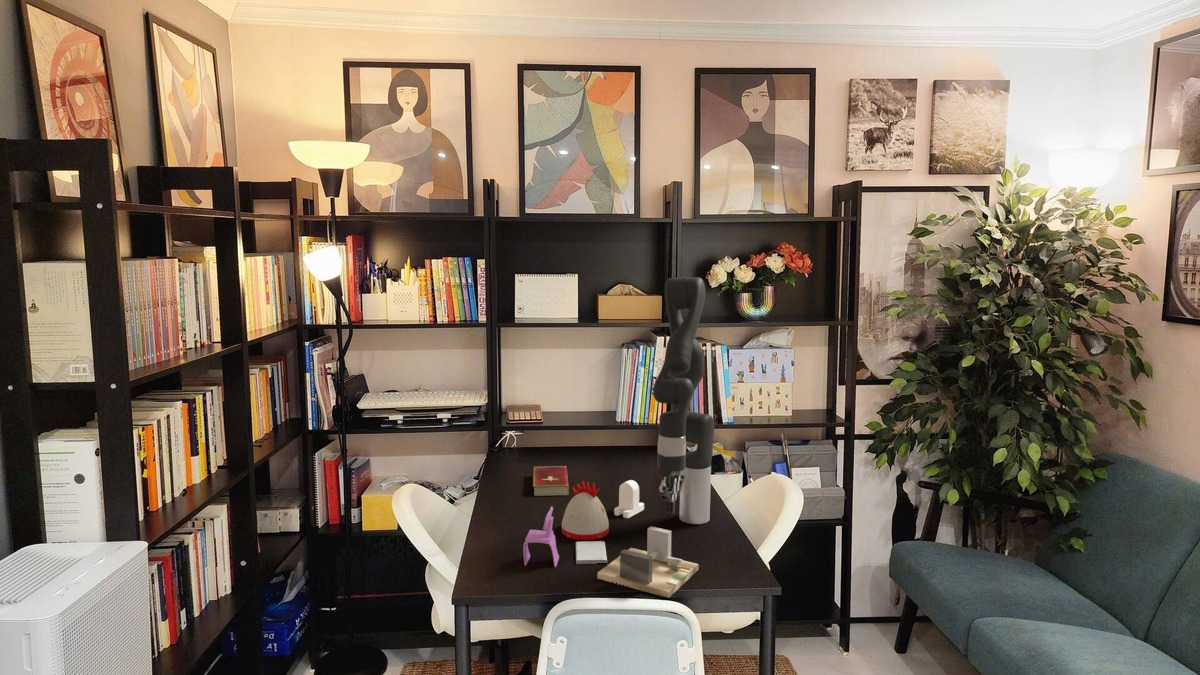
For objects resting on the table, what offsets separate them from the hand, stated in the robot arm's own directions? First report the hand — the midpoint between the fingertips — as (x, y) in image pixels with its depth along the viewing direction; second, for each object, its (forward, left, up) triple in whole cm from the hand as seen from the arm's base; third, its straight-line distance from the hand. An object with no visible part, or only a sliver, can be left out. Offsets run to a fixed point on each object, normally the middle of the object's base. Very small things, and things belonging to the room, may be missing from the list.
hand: (670, 513), depth 204 cm
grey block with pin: (+10, +8, -10) cm, 16 cm away
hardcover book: (-31, -60, -13) cm, 69 cm away
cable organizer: (-23, -25, -12) cm, 36 cm away
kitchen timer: (-3, -29, -12) cm, 31 cm away
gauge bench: (+13, 0, -12) cm, 18 cm away
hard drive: (+10, -19, -13) cm, 25 cm away
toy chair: (+21, -28, -12) cm, 37 cm away
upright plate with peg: (+9, +2, -10) cm, 14 cm away
